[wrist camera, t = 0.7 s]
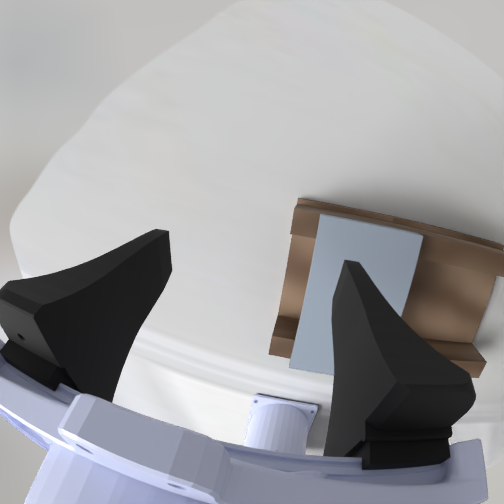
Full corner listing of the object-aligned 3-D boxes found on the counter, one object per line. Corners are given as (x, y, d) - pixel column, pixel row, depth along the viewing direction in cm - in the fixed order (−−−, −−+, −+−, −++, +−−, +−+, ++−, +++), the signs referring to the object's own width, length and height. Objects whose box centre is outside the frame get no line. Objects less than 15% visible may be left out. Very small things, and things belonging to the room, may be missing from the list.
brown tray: (460, 357, 27) (476, 381, 22) (275, 332, 31) (267, 358, 26) (499, 243, 24) (525, 255, 19) (298, 198, 27) (295, 202, 22)
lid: (374, 372, 24) (376, 380, 23) (290, 360, 25) (288, 367, 24) (418, 233, 21) (423, 236, 20) (320, 213, 22) (320, 215, 21)
